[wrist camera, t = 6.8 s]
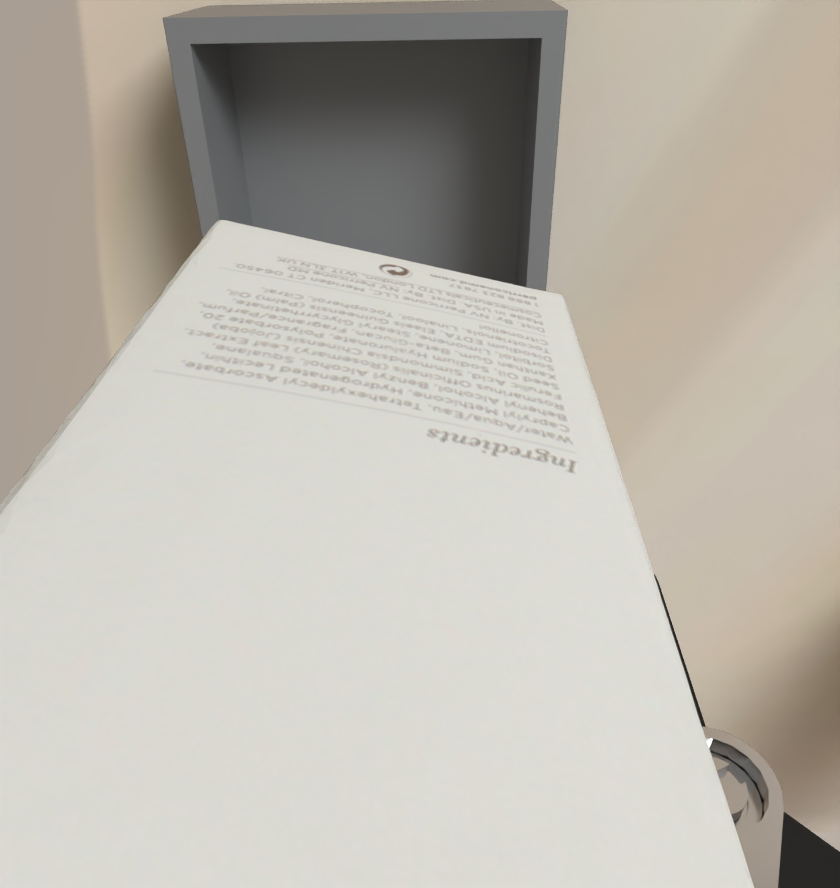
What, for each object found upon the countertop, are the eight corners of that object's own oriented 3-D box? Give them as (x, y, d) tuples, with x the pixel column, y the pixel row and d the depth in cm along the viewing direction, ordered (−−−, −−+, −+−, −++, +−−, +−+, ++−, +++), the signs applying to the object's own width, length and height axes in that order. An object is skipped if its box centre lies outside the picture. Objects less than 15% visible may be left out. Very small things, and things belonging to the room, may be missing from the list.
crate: (549, -1, 26) (567, 9, 22) (526, 339, 33) (537, 396, 29) (207, 5, 27) (162, 17, 22) (258, 340, 34) (231, 396, 30)
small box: (217, 206, 11) (-539, 1097, 3) (573, 286, 12) (918, 1244, 3) (191, 581, 16) (-124, 1379, 7) (450, 628, 16) (456, 1421, 8)
